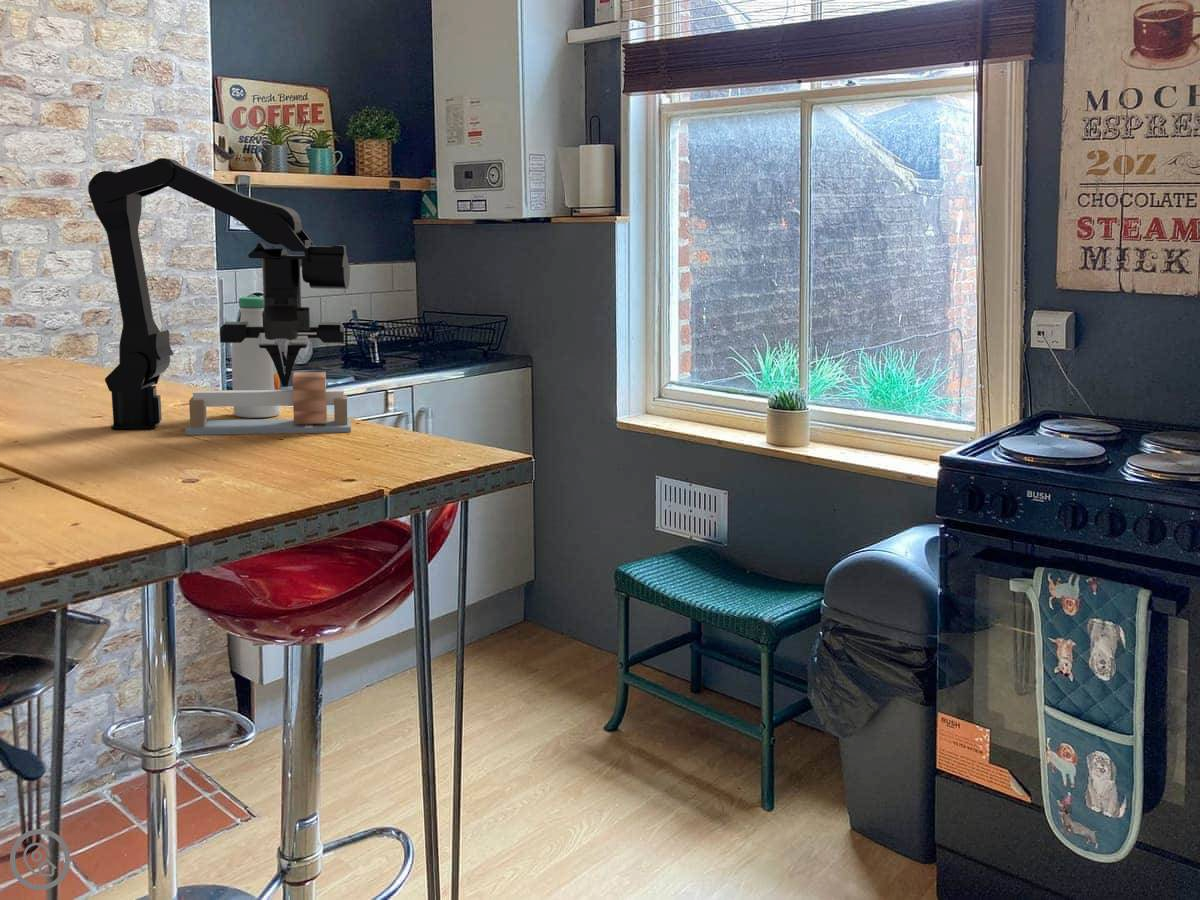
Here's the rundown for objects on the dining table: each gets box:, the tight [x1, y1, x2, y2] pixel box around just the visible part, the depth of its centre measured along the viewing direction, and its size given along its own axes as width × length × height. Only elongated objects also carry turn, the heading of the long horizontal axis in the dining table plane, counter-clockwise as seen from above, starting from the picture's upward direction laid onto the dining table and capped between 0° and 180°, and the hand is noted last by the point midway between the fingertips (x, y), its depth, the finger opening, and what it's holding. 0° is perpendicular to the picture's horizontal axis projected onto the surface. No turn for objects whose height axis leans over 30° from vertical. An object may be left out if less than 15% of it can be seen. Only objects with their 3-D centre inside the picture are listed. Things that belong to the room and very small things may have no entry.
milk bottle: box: [231, 296, 282, 419], centre depth 193 cm, size 8×8×20 cm
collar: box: [291, 371, 328, 424], centre depth 183 cm, size 5×6×7 cm
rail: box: [184, 389, 352, 436], centre depth 182 cm, size 25×8×6 cm, turn 102°
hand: (285, 386), depth 182 cm, fingers closed
